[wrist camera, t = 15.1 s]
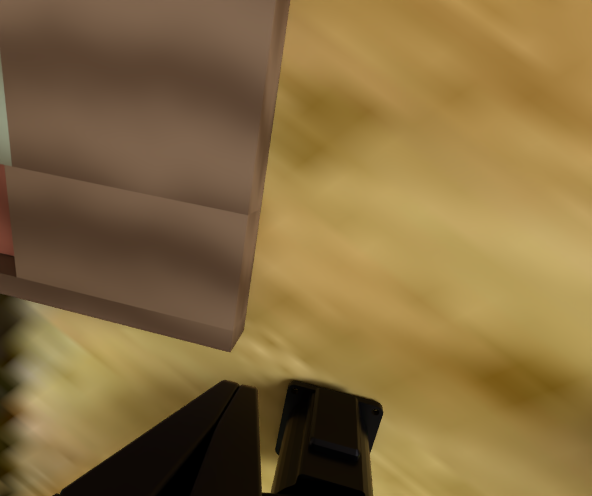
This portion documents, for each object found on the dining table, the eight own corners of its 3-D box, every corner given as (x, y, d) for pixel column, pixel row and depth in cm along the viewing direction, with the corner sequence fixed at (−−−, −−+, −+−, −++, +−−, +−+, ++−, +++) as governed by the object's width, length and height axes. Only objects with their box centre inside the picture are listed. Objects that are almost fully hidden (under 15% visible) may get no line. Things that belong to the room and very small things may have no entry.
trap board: (243, 330, 20) (230, 352, 18) (-57, 256, 23) (-104, 266, 20) (321, -224, 13) (315, -314, 10) (-149, -247, 15) (-243, -326, 13)
